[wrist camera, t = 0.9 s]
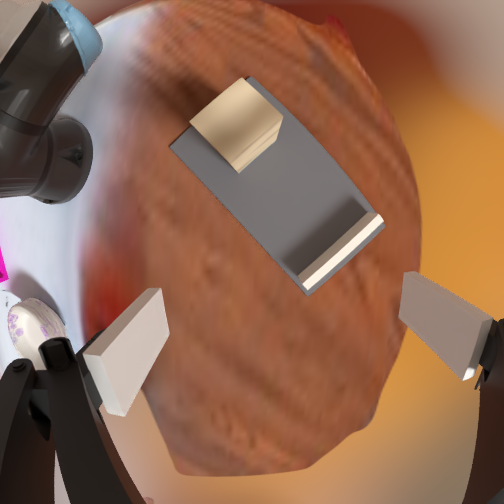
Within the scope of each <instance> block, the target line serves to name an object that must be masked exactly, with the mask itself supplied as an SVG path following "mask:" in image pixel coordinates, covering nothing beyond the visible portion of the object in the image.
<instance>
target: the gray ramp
mask: <svg viewBox="0 0 504 504" xmlns="http://www.w3.org/2000/svg"><path fill="white" fill-rule="evenodd" d="M245 81H246V82H247V83H249V84H250V85H251V86H252V87H253V88H254V89H255V90H256V91H257V92H259V93H260V94H261V95H262V96H263V97H264V98H265V99H266V100H267V101H268V102H269V103H270V104H271V105H272V106H273V107H274V108H275V109H276V110H278V111H279V112H280V113H281V114H282V115H283V119H282V122H281V126H280V129H279V132H278V135H277V139H276V141H275V142H274V143H273V144H271V145H270V146H269V147H268V148H267V149H266V150H264V151H263V152H262V153H261V154H260V155H259V156H258V157H256V158H255V159H254V160H253V161H252V162H251V163H250V164H249V165H247V166H246V167H245V168H244V169H243V170H242V171H241V172H240V173H238V172H237V171H236V170H235V169H234V168H233V167H232V166H231V165H230V164H229V163H228V162H227V161H226V160H225V159H224V158H223V157H222V156H221V155H220V154H219V153H218V152H217V151H216V150H215V148H214V147H213V146H212V145H211V144H210V143H209V142H208V141H207V140H206V139H205V138H204V137H203V136H202V135H201V134H200V133H199V132H198V130H197V129H196V128H195V127H194V126H193V125H192V126H191V127H190V128H189V129H188V130H187V131H186V132H184V133H183V134H182V135H181V136H180V137H179V138H178V139H177V140H176V141H175V142H174V143H173V144H172V145H171V146H170V148H171V150H172V151H173V152H174V153H175V154H176V155H177V156H178V157H179V158H180V159H181V160H182V161H183V162H184V163H185V164H186V165H187V166H188V168H189V169H190V170H191V171H192V172H193V173H194V174H195V175H196V176H197V177H198V178H199V179H200V180H201V181H202V182H203V183H204V185H205V186H206V187H207V188H208V189H209V190H210V191H211V192H212V193H213V194H214V195H215V196H216V197H217V198H218V199H219V201H220V202H221V203H222V204H223V205H224V206H225V207H226V208H227V209H228V210H229V211H230V212H231V213H232V215H233V216H234V217H235V218H236V219H237V220H238V221H239V222H240V223H241V224H242V225H243V226H244V227H245V229H246V230H247V231H248V232H249V233H250V234H251V235H252V236H253V237H254V238H255V239H256V240H257V242H258V243H259V244H260V245H261V246H262V247H263V248H264V249H265V250H266V251H267V252H268V253H269V255H270V256H271V257H272V258H273V259H274V260H275V261H276V262H277V263H278V264H279V265H280V267H281V268H282V269H283V270H284V271H285V272H286V273H287V274H288V275H289V276H290V278H291V279H292V280H293V281H294V282H295V283H296V284H297V285H298V286H299V287H300V289H301V290H302V291H303V292H304V293H305V294H306V295H307V296H310V295H311V294H312V293H313V292H314V291H315V290H317V289H318V288H319V287H320V286H321V285H322V284H324V283H325V282H326V281H327V280H328V279H329V278H330V277H332V276H333V275H334V274H335V273H336V272H337V271H338V270H339V269H341V268H342V267H343V266H344V265H345V264H346V263H347V262H348V261H349V260H350V259H352V258H353V257H354V256H355V255H356V254H357V253H358V252H359V251H360V250H361V249H362V248H363V247H365V246H366V245H367V244H368V243H369V242H370V241H371V240H372V239H373V238H374V237H375V236H376V235H377V234H378V233H379V232H380V231H381V230H382V229H383V228H384V227H385V225H384V223H383V222H382V223H381V224H380V225H379V226H378V227H377V228H376V229H375V230H374V231H373V232H372V233H371V234H370V235H369V236H368V237H366V238H365V239H364V240H363V241H362V242H361V243H360V244H359V245H358V246H357V247H356V248H355V249H354V250H353V251H351V252H350V253H349V254H348V255H347V256H346V257H345V258H344V259H343V260H342V261H340V262H339V263H338V264H337V265H336V266H335V267H334V268H333V269H331V270H330V271H329V272H328V273H327V274H326V275H325V276H324V277H322V278H321V279H320V280H319V281H318V282H317V283H315V284H314V285H313V286H312V287H311V288H310V289H308V290H307V289H306V288H305V287H304V286H303V284H302V283H301V281H300V279H299V277H298V275H299V274H300V273H301V272H302V271H304V270H305V269H306V268H307V267H308V266H309V265H310V264H312V263H313V262H314V261H315V260H316V259H317V258H318V257H320V256H321V255H322V254H323V253H324V252H325V251H326V250H327V249H328V248H330V247H331V246H332V245H333V244H334V243H335V242H336V241H337V240H338V239H340V238H341V237H342V236H343V235H344V234H345V233H346V232H347V231H348V230H349V229H350V228H351V227H353V226H354V225H355V224H356V223H357V222H358V221H359V220H360V219H361V218H362V217H363V216H364V215H365V214H366V213H367V212H370V213H376V212H375V211H374V209H373V208H372V207H371V205H370V204H369V203H368V201H367V200H366V199H365V197H364V196H363V195H362V194H361V192H360V191H359V190H358V188H357V187H356V186H355V185H354V183H353V182H352V181H351V180H350V178H349V177H348V176H347V175H346V174H345V172H344V171H343V170H342V169H341V168H340V166H339V165H338V164H337V163H336V162H335V160H334V159H333V158H332V157H331V156H330V155H329V154H328V152H327V151H326V150H325V149H324V148H323V147H322V146H321V145H320V143H319V142H318V141H317V140H316V139H315V138H314V137H313V136H312V135H311V134H310V133H309V131H308V130H307V129H306V128H305V127H304V126H303V125H302V124H301V123H300V122H299V121H298V120H297V119H296V118H295V117H294V116H293V115H292V114H291V113H290V112H289V111H288V110H287V109H286V108H285V107H284V106H283V105H282V104H281V103H280V102H279V101H278V100H277V99H276V98H275V97H274V96H273V95H271V94H270V93H269V92H268V91H267V90H266V89H265V88H264V87H263V86H262V85H261V84H259V83H258V82H257V81H256V80H255V79H254V78H253V77H252V76H251V77H249V78H248V79H247V80H245Z"/></svg>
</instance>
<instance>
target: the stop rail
mask: <svg viewBox="0 0 504 504" xmlns="http://www.w3.org/2000/svg"><path fill="white" fill-rule="evenodd" d="M382 222H383V219H382V218H381V216H380V215H379V214H376V213H370V212H367V213H366V214H365V215H364V216H363V217H362V218H361V219H360V220H359V221H358V222H357V223H356V224H355V225H354V226H353V227H351V228H350V229H349V230H348V231H347V232H346V233H345V234H344V235H343V236H342V237H341V238H340V239H338V240H337V241H336V242H335V243H334V244H333V245H332V246H331V247H330V248H328V249H327V250H326V251H325V252H324V253H323V254H322V255H321V256H320V257H318V258H317V259H316V260H315V261H314V262H313V263H312V264H310V265H309V266H308V267H307V268H306V269H305V270H304V271H302V272H301V273H300V274H299V275H298V277H299V279H300V281H301V283H302V284H303V286H304V287H305V288H306V289H307V290H308V289H310V288H311V287H312V286H313V285H314V284H315V283H317V282H318V281H319V280H320V279H321V278H322V277H324V276H325V275H326V274H327V273H328V272H329V271H330V270H331V269H333V268H334V267H335V266H336V265H337V264H338V263H339V262H340V261H342V260H343V259H344V258H345V257H346V256H347V255H348V254H349V253H350V252H351V251H353V250H354V249H355V248H356V247H357V246H358V245H359V244H360V243H361V242H362V241H363V240H364V239H365V238H366V237H368V236H369V235H370V234H371V233H372V232H373V231H374V230H375V229H376V228H377V227H378V226H379V225H380V224H381V223H382Z"/></svg>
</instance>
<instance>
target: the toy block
mask: <svg viewBox="0 0 504 504" xmlns="http://www.w3.org/2000/svg"><path fill="white" fill-rule="evenodd" d="M8 279H9V278H8V275H7V271H6V268H5V264H4V261H3V257H2V253H1V248H0V283H1V282H3V281H5V280H8Z"/></svg>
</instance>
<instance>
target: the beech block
mask: <svg viewBox="0 0 504 504" xmlns="http://www.w3.org/2000/svg"><path fill="white" fill-rule="evenodd" d="M282 119H283V115H282V114H281V113H280V112H279V111H278V110H276V109H275V108H274V107H273V106H272V105H271V104H270V103H269V102H268V101H267V100H266V99H265V98H264V97H263V96H262V95H261V94H260V93H259V92H257V91H256V90H255V89H254V88H253V87H252V86H251V85H250V84H249V83H247V82H246V81H245V80H244V79H243V78H240V79H239V80H238V81H236V82H235V83H234V84H233V85H231V86H230V87H229V88H228V89H226V90H225V91H224V92H223V93H221V94H220V95H219V96H218V97H217V98H215V99H214V100H213V101H212V102H211V103H210V104H208V105H207V106H206V107H205V108H204V109H203V110H202V111H200V112H199V113H198V114H197V115H196V116H195V117H194V118H193V119H192V120H190V121H189V122H190V123H191V124H192V125H193V126H194V127H195V128H196V129H197V130H198V132H199V133H200V134H201V135H202V136H203V137H204V138H205V139H206V140H207V141H208V142H209V143H210V144H211V145H212V146H213V147H214V148H215V150H216V151H217V152H218V153H219V154H220V155H221V156H222V157H223V158H224V159H225V160H226V161H227V162H228V163H229V164H230V165H231V166H232V167H233V168H234V169H235V170H236V171H237V172H238V173H240V172H241V171H242V170H243V169H244V168H245V167H246V166H247V165H249V164H250V163H251V162H252V161H253V160H254V159H255V158H256V157H258V156H259V155H260V154H261V153H262V152H263V151H264V150H266V149H267V148H268V147H269V146H270V145H271V144H273V143H274V142H275V141H276V139H277V135H278V132H279V129H280V126H281V122H282Z"/></svg>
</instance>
